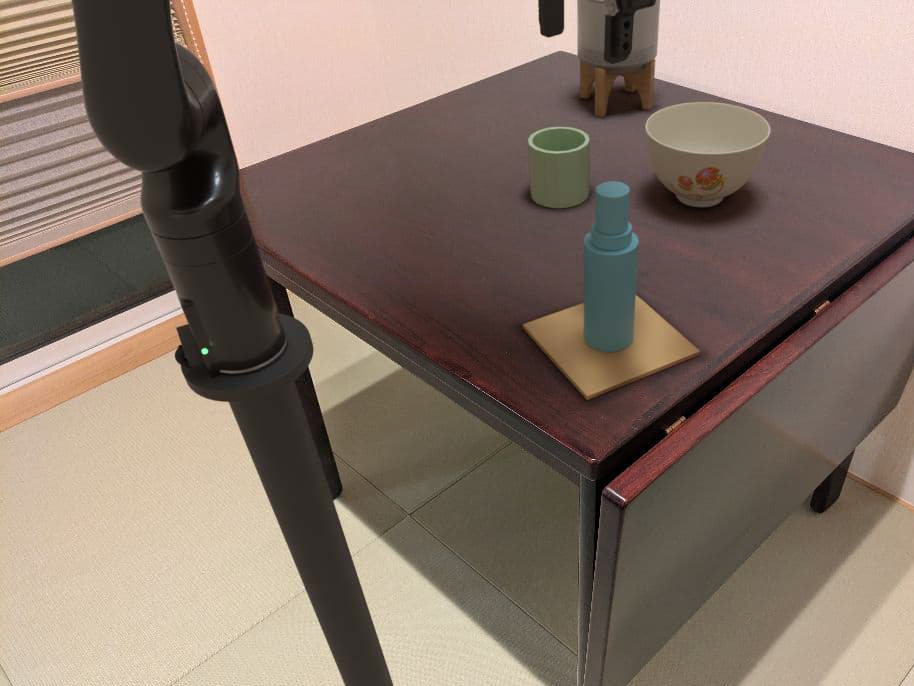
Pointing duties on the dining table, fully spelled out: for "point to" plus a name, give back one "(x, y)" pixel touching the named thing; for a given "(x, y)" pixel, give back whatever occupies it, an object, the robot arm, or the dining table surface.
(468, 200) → the dining table surface
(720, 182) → the bowl
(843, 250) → the dining table surface
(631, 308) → the bottle
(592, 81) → the planter
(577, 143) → the holder
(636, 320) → the cork mat
